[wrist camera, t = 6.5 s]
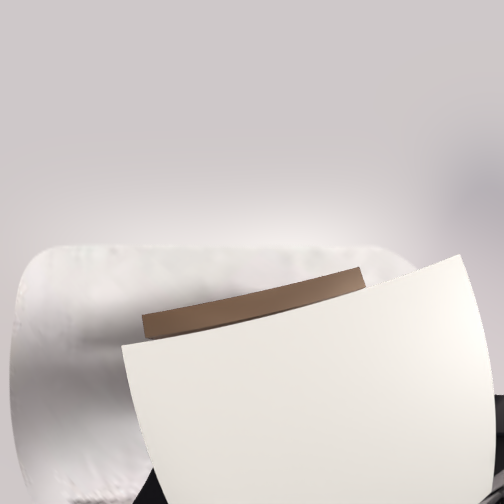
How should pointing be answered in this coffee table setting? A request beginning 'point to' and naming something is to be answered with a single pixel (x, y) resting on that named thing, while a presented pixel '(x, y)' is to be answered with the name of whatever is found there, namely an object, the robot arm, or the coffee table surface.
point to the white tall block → (327, 401)
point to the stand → (250, 305)
